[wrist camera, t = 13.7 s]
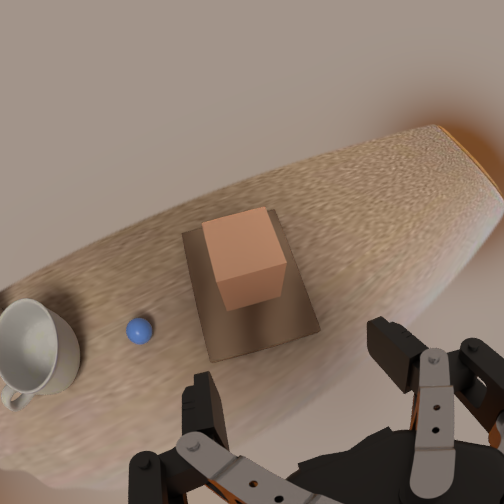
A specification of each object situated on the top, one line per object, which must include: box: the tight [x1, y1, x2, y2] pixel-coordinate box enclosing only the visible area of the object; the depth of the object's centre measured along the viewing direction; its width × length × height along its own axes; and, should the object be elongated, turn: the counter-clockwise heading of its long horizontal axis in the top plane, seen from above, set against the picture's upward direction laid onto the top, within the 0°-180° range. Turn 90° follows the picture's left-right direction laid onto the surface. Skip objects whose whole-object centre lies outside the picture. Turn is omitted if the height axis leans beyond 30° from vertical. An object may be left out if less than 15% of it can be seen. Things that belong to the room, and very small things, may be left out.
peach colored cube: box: [202, 206, 287, 311], centre depth 29 cm, size 6×6×8 cm
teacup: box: [0, 298, 80, 411], centre depth 26 cm, size 14×11×8 cm
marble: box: [126, 318, 152, 344], centre depth 30 cm, size 3×3×3 cm
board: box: [182, 210, 320, 363], centre depth 34 cm, size 12×16×1 cm
